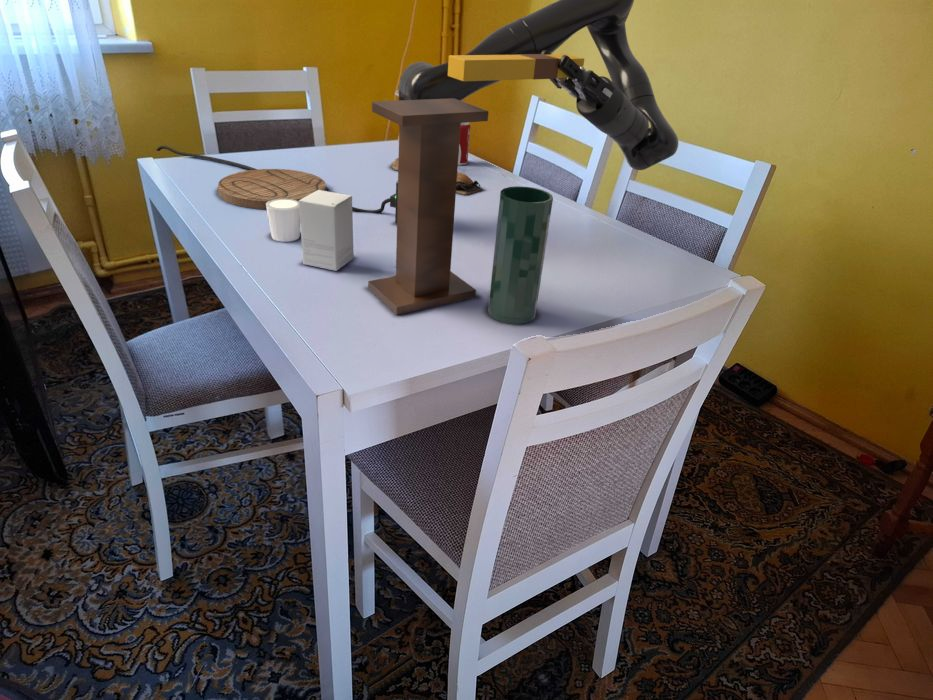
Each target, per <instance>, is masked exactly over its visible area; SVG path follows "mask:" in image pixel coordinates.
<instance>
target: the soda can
mask: <svg viewBox="0 0 933 700" xmlns="http://www.w3.org/2000/svg"><path fill="white" fill-rule="evenodd" d="M470 123H471V122H466V123H461V127H460V141H459V155H458V166H466V165H467V164H468V162H469V149H470V138H471V124H470Z"/></svg>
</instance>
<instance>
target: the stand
mask: <svg viewBox="0 0 933 700" xmlns="http://www.w3.org/2000/svg"><path fill="white" fill-rule="evenodd" d="M371 112H372V113H374V114H376V115H378V116H380V117H383V118H384V119H387V120H389V121H391V122H393V123H395V124H396V125H398V129H399V130H398V136H399V142H398V158H399V160H398V170H397V173H398V174H397V181H398V203H397V224H396V248H395V249H396V253H395V254H396V256H395V275H393V276H388V277H382V278H378V279H373V280H368V281H367V289H368V290H369V291H370V292H371V294H373V295H374V296H376V297H377V298H378V299H379V300H380V301H381V302H382V303H383V304H384V305H385V306H386V307H387V308H389V310H391V311H392V312H393V314H395V315H396V316H399V315H403V314H408V313H411V312H416V311H421V310H425V309H431V308H435V307H438V306H443V305H447V304H452V303H456V302H460V301H465V300H469V299H473V298H474V299H475V298H476V297H477V289H476V288H474V286H472V285H471V284H469V283H468V282H466V281H465V280H464V279H462V278H461V277H459V276H458V275H457V274H455V273H454V272H453V271H451V270H452V268H451V267H452V255H453V253H452V252H453V241H454V239H453V238H454V227H455V226H454V225H455V211H456V210H455V209H456V197H457V196H456V195H457V192H456V184H457V172H458V169H459V165H458V155H459V141H460V127H461V123H466V122H470V123H478V122H479V123H482V122H488V121H489V110H486V109H483V108H481V107H478V106H476V105H473V104H470V103H467V102H465V101H464V100H461V101H460V100H457V99H455V98H450V99H425V100H400V101H399V100H382V101H381V100H379V101H371Z"/></svg>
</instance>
